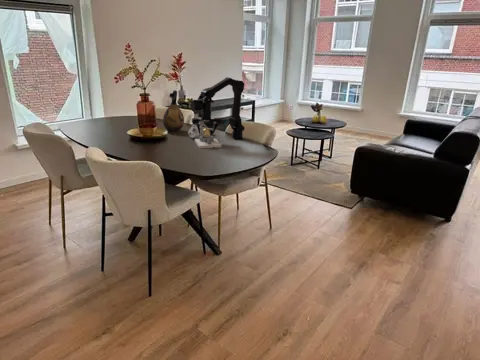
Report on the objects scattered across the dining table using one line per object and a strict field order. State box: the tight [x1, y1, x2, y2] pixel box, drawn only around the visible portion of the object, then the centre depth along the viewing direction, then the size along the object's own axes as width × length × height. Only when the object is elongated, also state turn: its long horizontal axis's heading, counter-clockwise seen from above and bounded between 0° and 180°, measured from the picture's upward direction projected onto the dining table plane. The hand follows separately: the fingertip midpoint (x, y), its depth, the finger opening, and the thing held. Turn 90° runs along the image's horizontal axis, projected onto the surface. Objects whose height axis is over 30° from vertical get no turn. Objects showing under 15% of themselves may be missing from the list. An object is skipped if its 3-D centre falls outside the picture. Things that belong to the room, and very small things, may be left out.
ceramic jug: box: [162, 89, 185, 134], centre depth 252 cm, size 17×15×30 cm
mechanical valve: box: [187, 122, 214, 140], centre depth 243 cm, size 10×18×15 cm
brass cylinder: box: [202, 127, 211, 138], centre depth 227 cm, size 4×4×8 cm
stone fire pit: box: [194, 135, 222, 149], centre depth 224 cm, size 14×18×6 cm
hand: (206, 133), depth 226 cm, fingers open, 9 cm apart
